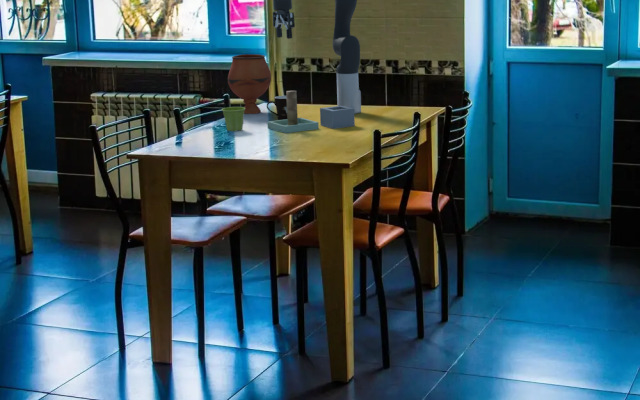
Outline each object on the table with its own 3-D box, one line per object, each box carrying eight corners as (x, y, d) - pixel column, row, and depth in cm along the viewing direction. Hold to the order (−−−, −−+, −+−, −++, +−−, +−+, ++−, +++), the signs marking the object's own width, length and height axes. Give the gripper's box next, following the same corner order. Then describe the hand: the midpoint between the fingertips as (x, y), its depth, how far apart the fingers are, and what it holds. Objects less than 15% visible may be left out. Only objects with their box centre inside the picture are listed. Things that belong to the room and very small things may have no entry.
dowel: (295, 125, 416) (293, 90, 412) (299, 126, 412) (298, 91, 409) (286, 126, 414) (284, 91, 411) (290, 127, 411) (289, 92, 407)
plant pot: (242, 132, 409) (241, 110, 407) (219, 132, 411) (218, 110, 409) (249, 128, 418) (248, 106, 416) (226, 128, 420) (225, 106, 418)
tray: (300, 123, 423) (300, 117, 423) (318, 128, 410) (318, 122, 410) (267, 128, 416) (267, 121, 416) (285, 133, 403) (284, 126, 403)
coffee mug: (297, 119, 435) (296, 95, 433) (295, 122, 427) (294, 98, 425) (270, 119, 437) (268, 95, 434) (267, 123, 428) (265, 98, 426)
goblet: (243, 117, 445) (240, 59, 439) (221, 112, 460) (218, 56, 454) (281, 112, 455) (278, 55, 449) (259, 107, 470) (256, 52, 464)
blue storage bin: (341, 122, 423) (341, 105, 421) (354, 125, 414) (354, 108, 413) (320, 125, 418) (319, 108, 416) (332, 128, 410) (332, 111, 408)
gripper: (298, -3, 419) (300, 38, 423) (282, -4, 431) (284, 36, 435) (282, -2, 415) (284, 39, 419) (265, -2, 427) (268, 37, 431)
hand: (284, 37), depth 427 cm, fingers open, 8 cm apart
